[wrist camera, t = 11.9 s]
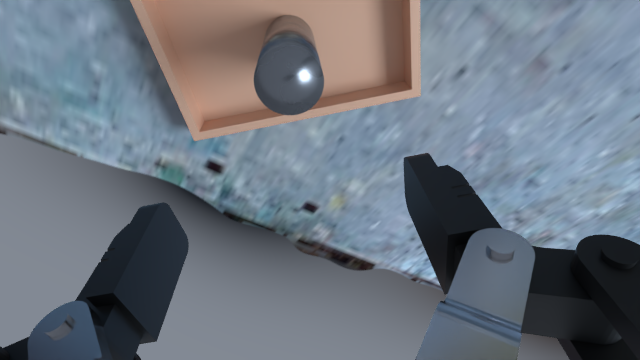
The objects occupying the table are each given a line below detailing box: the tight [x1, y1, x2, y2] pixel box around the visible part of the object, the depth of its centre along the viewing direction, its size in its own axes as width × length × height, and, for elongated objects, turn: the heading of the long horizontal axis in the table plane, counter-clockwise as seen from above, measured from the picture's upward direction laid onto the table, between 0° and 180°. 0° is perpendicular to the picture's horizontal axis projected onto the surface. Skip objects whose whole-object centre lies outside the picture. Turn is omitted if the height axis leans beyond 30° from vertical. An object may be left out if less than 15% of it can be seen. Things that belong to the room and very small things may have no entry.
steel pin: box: [254, 15, 324, 115], centre depth 25 cm, size 4×4×11 cm
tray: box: [130, 0, 421, 141], centre depth 29 cm, size 22×13×3 cm, turn 100°
